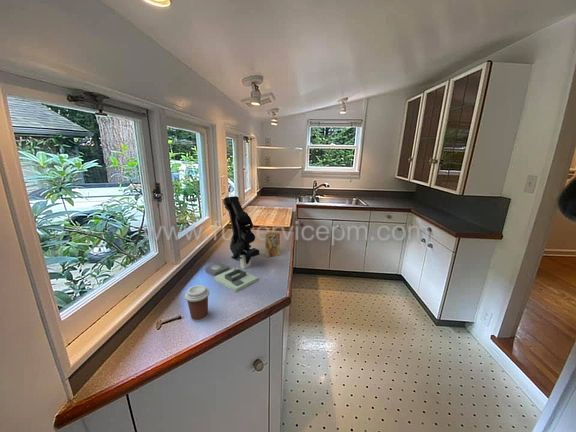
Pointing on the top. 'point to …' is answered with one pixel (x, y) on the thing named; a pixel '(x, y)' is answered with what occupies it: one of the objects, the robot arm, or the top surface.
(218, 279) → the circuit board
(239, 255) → the robot arm
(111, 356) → the top surface
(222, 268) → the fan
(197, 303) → the coffee cup
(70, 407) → the top surface
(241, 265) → the plug
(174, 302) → the top surface
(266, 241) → the candy box
